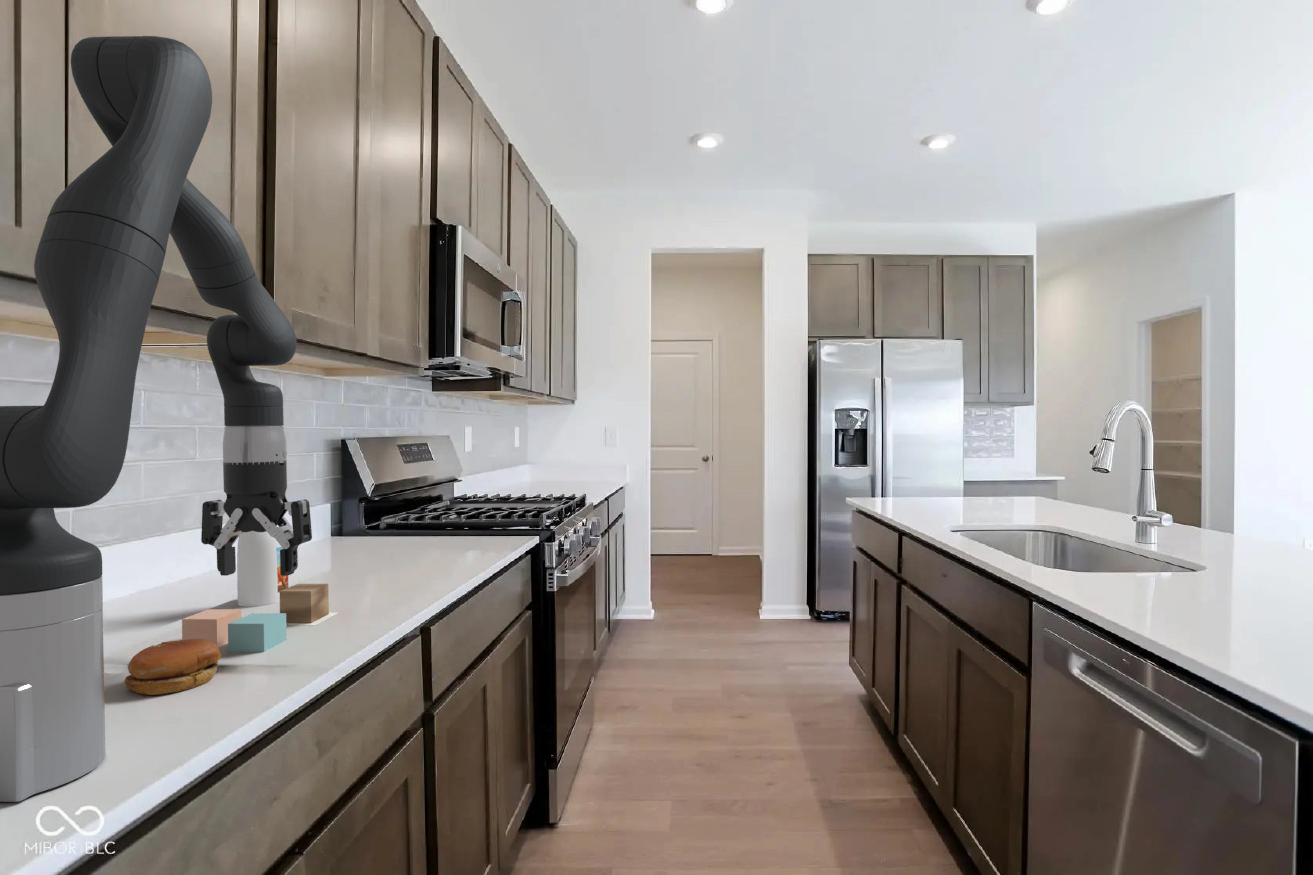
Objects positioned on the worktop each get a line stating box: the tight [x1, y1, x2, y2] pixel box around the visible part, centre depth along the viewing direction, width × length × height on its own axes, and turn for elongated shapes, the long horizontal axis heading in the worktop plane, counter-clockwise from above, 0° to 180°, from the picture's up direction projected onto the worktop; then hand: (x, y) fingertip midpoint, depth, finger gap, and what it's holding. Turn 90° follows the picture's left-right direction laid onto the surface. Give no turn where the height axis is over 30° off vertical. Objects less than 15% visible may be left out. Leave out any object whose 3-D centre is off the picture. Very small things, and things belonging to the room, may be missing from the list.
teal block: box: [227, 612, 288, 653], centre depth 91 cm, size 5×5×5 cm
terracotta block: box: [181, 608, 242, 647], centre depth 93 cm, size 5×5×5 cm
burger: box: [124, 639, 222, 696], centre depth 81 cm, size 10×9×5 cm
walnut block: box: [279, 583, 330, 623], centre depth 104 cm, size 5×5×5 cm
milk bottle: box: [236, 525, 289, 608], centre depth 115 cm, size 8×8×20 cm
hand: (258, 574), depth 91 cm, fingers open, 8 cm apart
